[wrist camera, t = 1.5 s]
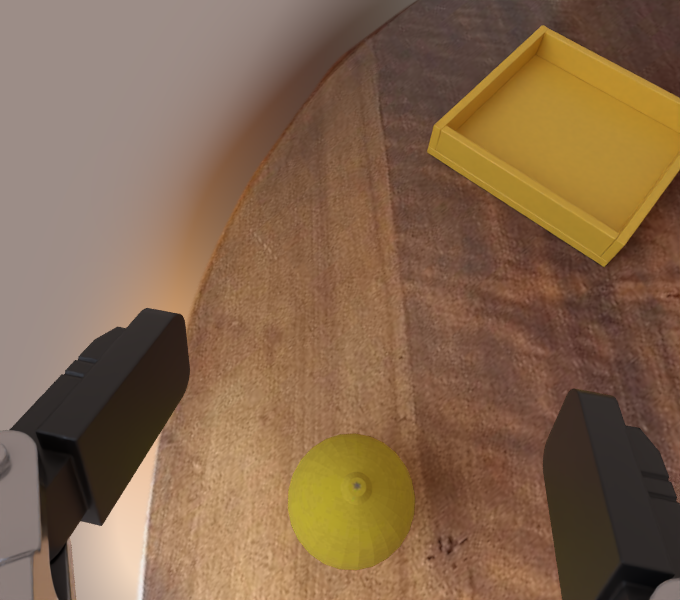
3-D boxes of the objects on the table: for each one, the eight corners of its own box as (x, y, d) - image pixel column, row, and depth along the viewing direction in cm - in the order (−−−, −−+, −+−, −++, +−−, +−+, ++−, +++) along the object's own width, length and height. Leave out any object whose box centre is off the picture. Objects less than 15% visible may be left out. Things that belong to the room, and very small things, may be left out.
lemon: (414, 476, 28) (447, 443, 21) (379, 589, 25) (404, 596, 18) (316, 437, 29) (316, 392, 22) (273, 543, 26) (257, 532, 19)
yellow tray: (426, 152, 38) (433, 125, 36) (530, 54, 43) (542, 24, 41) (603, 267, 34) (624, 245, 32) (694, 144, 40) (717, 117, 37)
